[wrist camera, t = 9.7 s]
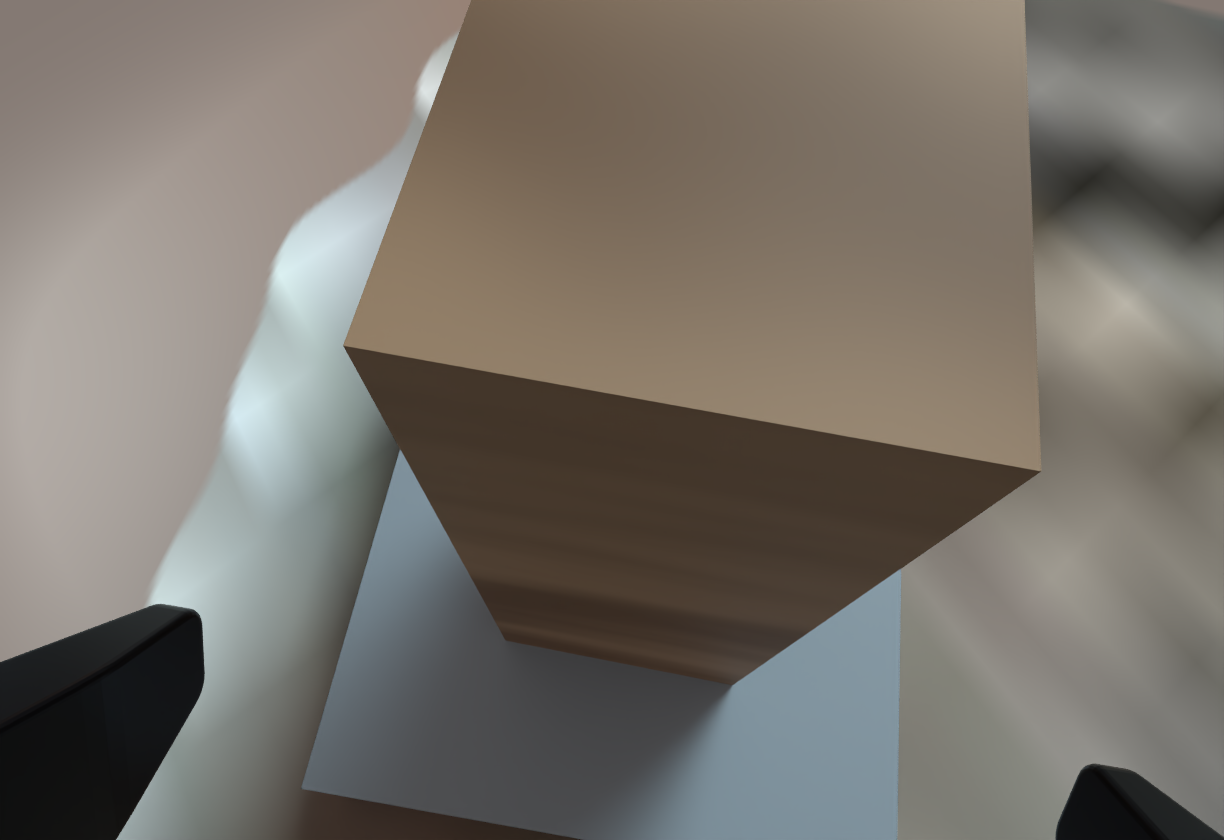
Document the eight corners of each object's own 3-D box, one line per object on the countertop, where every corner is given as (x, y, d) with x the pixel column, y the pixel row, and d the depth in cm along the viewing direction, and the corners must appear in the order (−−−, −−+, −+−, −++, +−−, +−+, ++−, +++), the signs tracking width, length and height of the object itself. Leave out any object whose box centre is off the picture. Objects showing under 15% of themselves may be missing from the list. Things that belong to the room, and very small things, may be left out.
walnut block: (732, 684, 17) (1040, 471, 6) (505, 640, 18) (343, 345, 6) (758, 471, 20) (1024, -17, 8) (554, 433, 20) (506, -95, 8)
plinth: (851, 880, 19) (896, 896, 16) (341, 788, 19) (301, 788, 16) (866, 412, 24) (903, 363, 21) (461, 348, 24) (445, 292, 21)
